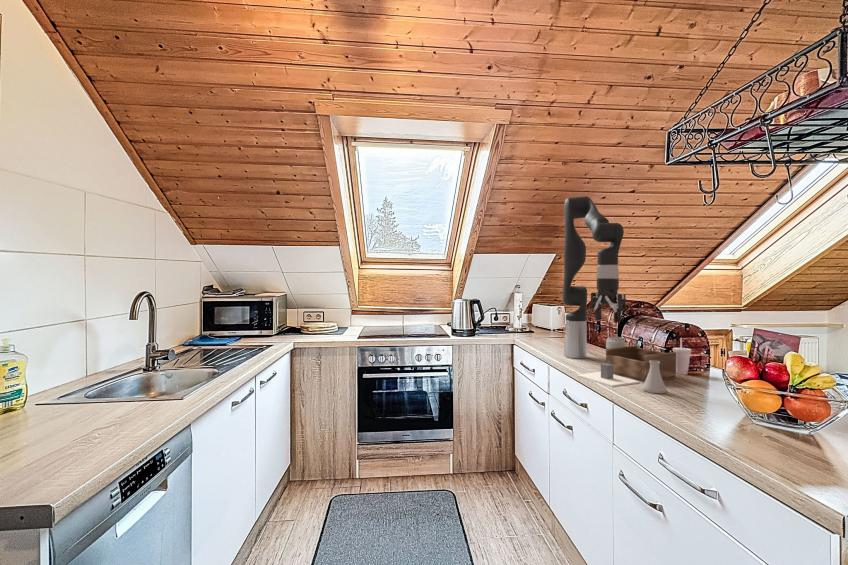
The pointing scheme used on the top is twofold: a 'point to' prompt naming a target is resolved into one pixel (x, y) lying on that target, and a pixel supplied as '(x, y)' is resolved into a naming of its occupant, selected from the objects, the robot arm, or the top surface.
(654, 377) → the flask
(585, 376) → the lid
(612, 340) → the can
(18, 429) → the top surface
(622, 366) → the walnut box
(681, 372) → the smoothie
